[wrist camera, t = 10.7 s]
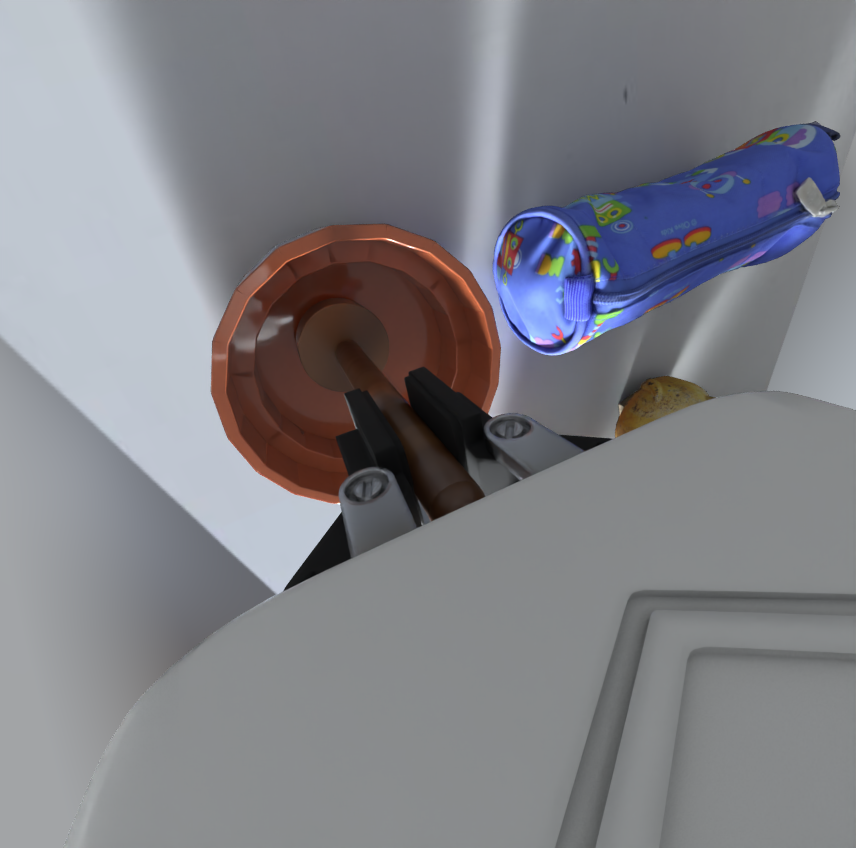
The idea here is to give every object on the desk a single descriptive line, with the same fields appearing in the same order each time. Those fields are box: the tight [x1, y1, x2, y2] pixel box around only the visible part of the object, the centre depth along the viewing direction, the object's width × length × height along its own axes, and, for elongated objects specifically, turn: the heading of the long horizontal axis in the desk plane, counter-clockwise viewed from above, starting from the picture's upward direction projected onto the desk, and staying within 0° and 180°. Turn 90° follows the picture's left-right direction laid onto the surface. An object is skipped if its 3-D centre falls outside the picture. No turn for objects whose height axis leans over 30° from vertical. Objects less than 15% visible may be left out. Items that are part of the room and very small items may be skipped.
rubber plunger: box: [296, 298, 485, 521], centre depth 14 cm, size 5×5×16 cm
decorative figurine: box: [615, 376, 716, 438], centre depth 31 cm, size 10×8×15 cm
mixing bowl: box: [211, 224, 501, 504], centre depth 21 cm, size 15×15×6 cm
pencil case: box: [493, 121, 840, 355], centre depth 23 cm, size 22×9×10 cm, turn 105°
